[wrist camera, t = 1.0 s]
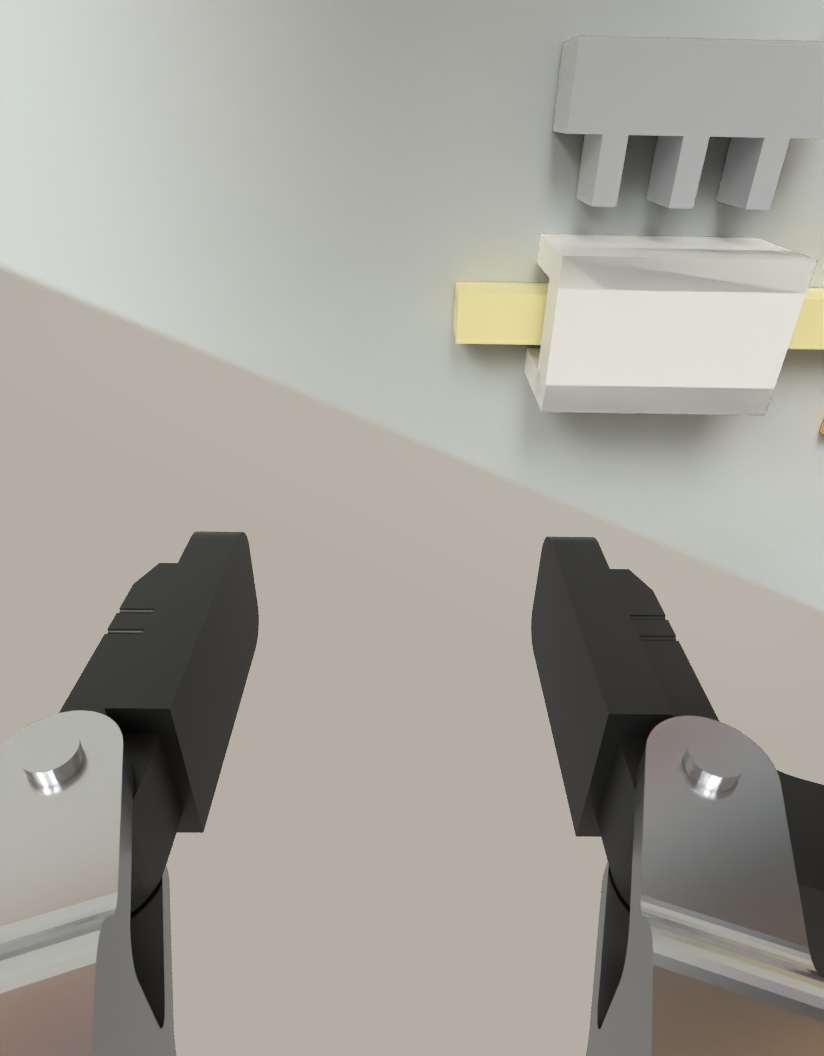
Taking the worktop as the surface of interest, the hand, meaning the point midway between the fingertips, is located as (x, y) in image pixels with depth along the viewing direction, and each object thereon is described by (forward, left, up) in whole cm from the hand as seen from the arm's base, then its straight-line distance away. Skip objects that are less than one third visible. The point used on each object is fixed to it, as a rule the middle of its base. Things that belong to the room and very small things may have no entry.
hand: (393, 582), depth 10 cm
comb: (-7, +9, -17) cm, 21 cm away
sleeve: (0, +9, -18) cm, 20 cm away
